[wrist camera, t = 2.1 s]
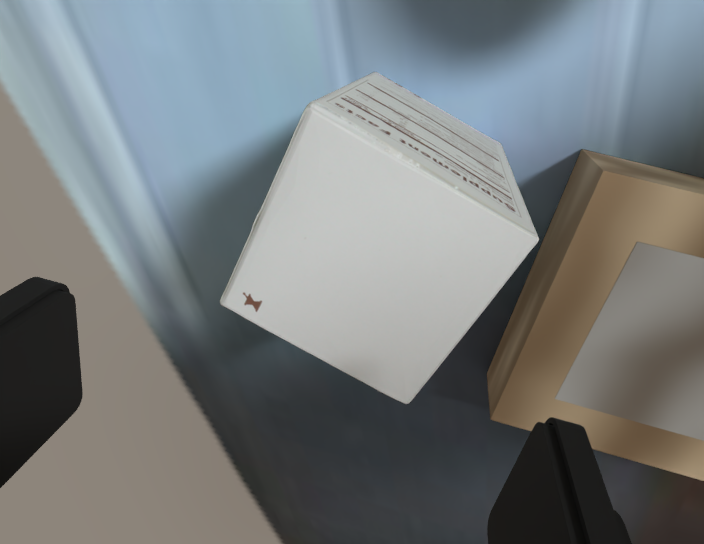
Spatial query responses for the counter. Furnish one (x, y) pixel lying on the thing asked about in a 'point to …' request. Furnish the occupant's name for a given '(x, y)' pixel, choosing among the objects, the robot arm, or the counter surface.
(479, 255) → the supplement box
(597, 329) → the oak plinth
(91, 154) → the counter surface
